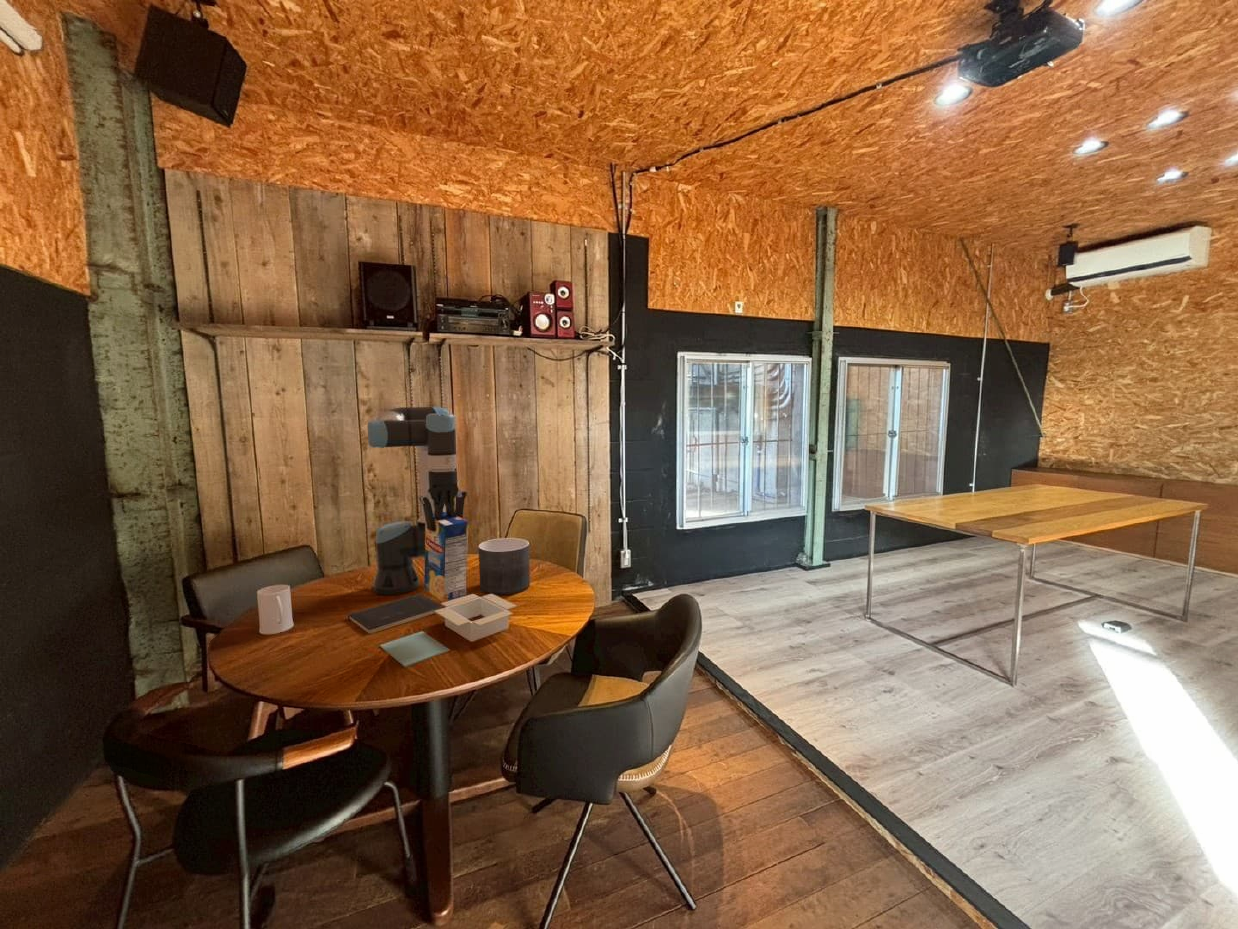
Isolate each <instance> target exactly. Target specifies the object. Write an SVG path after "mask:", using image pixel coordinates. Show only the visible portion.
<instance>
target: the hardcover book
mask: <svg viewBox="0 0 1238 929" xmlns="http://www.w3.org/2000/svg"><path fill="white" fill-rule="evenodd" d="M443 607H444V606H443V605H441V603H438V602H436V601H434V600H432V599H430V598H429V597H427V596H425V595H423V594H421V593H419V594H416V595H411V596H408V597H405V598H401V599H397V600H393V601H392V602H391V601H390V602H387V603H383V604H380V605H377V606H373V607H370V608H366V609H363V610H359V611H356V612H352V613H348V614H347V617H348V618H347V619H348V620H350V619H351V620H350V621H351V622H353V623H355V625H357V626H358V627H360V628H361V629H362V630H363V631H365V632H366V633H368V635H372V634H375V633H377V632H380V631H384V630H387V629H390V628H393V627H395V626H399V625H403V624H405V623H409V622H412V621H415V620H418V619H421V618H422V619H423V618H425V617H427V616H431V615H434V614H436V613H435V612H434V611H436V610H439V609H442V608H443Z"/></svg>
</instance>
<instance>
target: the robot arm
mask: <svg viewBox="0 0 1238 929" xmlns="http://www.w3.org/2000/svg"><path fill="white" fill-rule="evenodd" d="M455 417H456V416H455V415H454V414H453V413H449V412H448V410H447V409H446V408H445V407H439V406H421V407H420V406H416V407H415V406H414V407H412V406H411V407H410V406H409V407H407V406H404V407H402V406H401V407H394V408H391V409H388V410H385V411H383V412H380V413H379V414H378V415H377V416H376V418H375V420H370V421H368V423H367V440H368V445H369V447H370V448H380V449H384V448H400V447H401V448H402V447H405V448H406V447H415V448H416V449H417V450H418V464H419V465H418V466H419V486H420V497H419V501H420V508H421V515H420V516H419V518H418V519H417V524H414V525H413V524H412V523H411V521H410V520H409V521H407V520H406V521H404V520H403V521H395V522H391V523H387V524H384V525H382V526H380V527H379V528H378V529H377V530H376V532H375V535H376V536H375V539H376V540H375V544H376V555H377V556H376V557H377V558H376V559H377V570H376V574H375V578H374V581H373V592H374V594H378V595H382V596H383V595H384V596H391V595H399V594H405V593H409V592H412V591H414V590H416V589H417V588H418V587H419V586H420V580H419V579H420V577H419V576H418V573H417V571H416V569H415V567H414V558H422V557H423V558H425V519H426V524H427V529H428V530H430V531H434V532H435V530H436V527H435V522H434V518H436V519H438V520H440V519H443V512H446V514H447V516H449V517H451V518H452V517H455V515H457V516H459V517H461V518H463V517H464V508H465V500H466V497H467V495H468V493H467V491H463V490H461V489H459V486H458V470H456V469H457V468H458V463H457V460H458V459H457V440H456V439H457V437H456V436H457V435H456V434H457V433H456V431H457V430H456V428H457V425H456V418H455ZM455 498H456V499H455ZM433 514H434V516H433ZM463 519H464V518H463Z"/></svg>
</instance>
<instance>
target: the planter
mask: <svg viewBox="0 0 1238 929" xmlns="http://www.w3.org/2000/svg"><path fill="white" fill-rule="evenodd" d="M478 565H479V568H478V570H479V590H480V591H481V592H482V593H484V594H486V595H489V594H493V595H496V596H508V595H514V594H518V593H521V592H523V591H525V590H527V589H528V588H530V585H531V582H530V574H531V573H530V571H531V570H530V542H529V541H528V540H526V539H522V538H516V537H502V538H494V539H489V540H486V541H483V542H481V543H479V545H478Z"/></svg>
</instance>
